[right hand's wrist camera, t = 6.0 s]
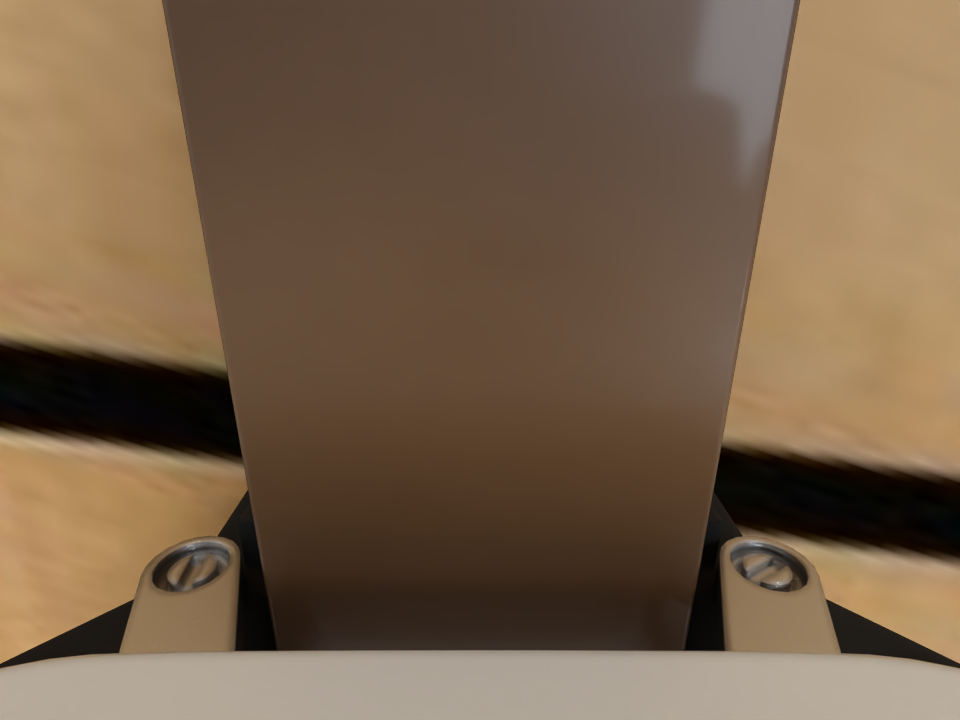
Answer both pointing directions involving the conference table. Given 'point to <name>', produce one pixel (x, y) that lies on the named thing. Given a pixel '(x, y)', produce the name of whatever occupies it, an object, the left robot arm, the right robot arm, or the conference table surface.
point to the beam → (480, 301)
